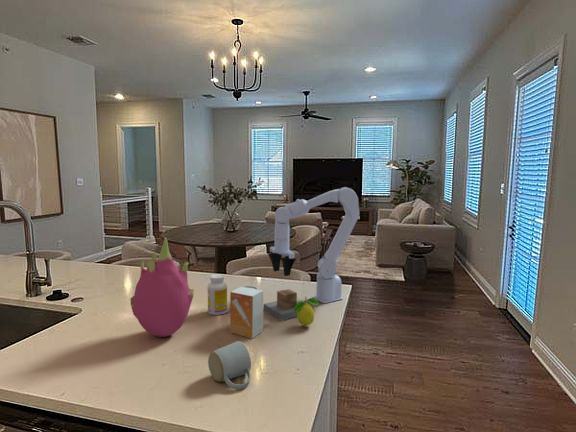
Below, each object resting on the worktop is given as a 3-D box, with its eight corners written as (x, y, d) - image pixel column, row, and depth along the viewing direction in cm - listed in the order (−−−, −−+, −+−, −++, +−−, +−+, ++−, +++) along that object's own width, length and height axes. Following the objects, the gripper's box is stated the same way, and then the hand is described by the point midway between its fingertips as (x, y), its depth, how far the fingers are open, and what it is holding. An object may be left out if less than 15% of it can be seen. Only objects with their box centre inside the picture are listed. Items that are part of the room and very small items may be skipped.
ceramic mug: (206, 375, 91) (205, 345, 90) (235, 364, 96) (235, 336, 95) (228, 396, 82) (228, 363, 81) (259, 383, 88) (259, 352, 87)
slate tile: (291, 303, 141) (291, 298, 141) (310, 313, 131) (310, 307, 131) (263, 309, 135) (263, 303, 134) (281, 320, 125) (281, 314, 124)
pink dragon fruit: (195, 324, 120) (194, 231, 117) (192, 343, 107) (190, 239, 104) (137, 327, 117) (134, 232, 114) (126, 347, 104) (122, 240, 101)
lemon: (318, 324, 122) (318, 294, 121) (313, 331, 116) (314, 300, 115) (298, 321, 124) (298, 292, 123) (292, 328, 119) (293, 297, 117)
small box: (229, 333, 114) (229, 291, 112) (241, 325, 120) (241, 286, 118) (252, 339, 110) (252, 295, 109) (263, 331, 116) (263, 289, 114)
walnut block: (288, 302, 136) (289, 289, 135) (296, 306, 132) (296, 293, 131) (277, 305, 133) (277, 291, 133) (284, 309, 129) (284, 295, 129)
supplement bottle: (231, 310, 133) (230, 275, 131) (220, 317, 127) (219, 280, 125) (215, 307, 136) (215, 272, 134) (203, 313, 130) (203, 277, 128)
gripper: (263, 236, 148) (263, 270, 150) (283, 242, 136) (283, 279, 138) (278, 235, 152) (278, 268, 153) (299, 240, 140) (298, 276, 142)
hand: (281, 273), depth 146 cm, fingers open, 7 cm apart
